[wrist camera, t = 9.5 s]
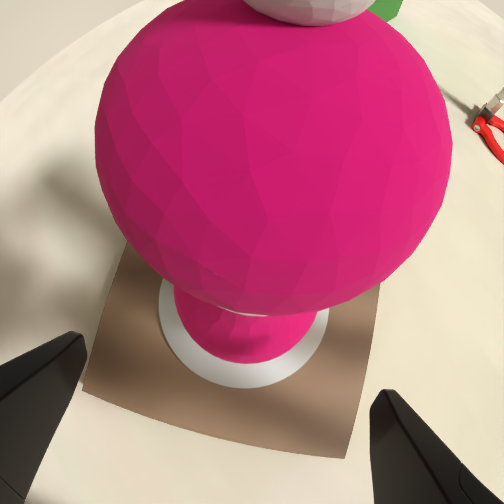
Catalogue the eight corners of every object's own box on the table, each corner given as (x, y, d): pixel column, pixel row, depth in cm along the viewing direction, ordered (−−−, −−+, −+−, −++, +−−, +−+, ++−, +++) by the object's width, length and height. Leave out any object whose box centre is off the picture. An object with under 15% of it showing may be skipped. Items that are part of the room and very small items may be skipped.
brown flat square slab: (338, 454, 19) (346, 460, 17) (89, 389, 19) (79, 390, 18) (380, 222, 25) (388, 214, 23) (164, 169, 25) (160, 158, 24)
